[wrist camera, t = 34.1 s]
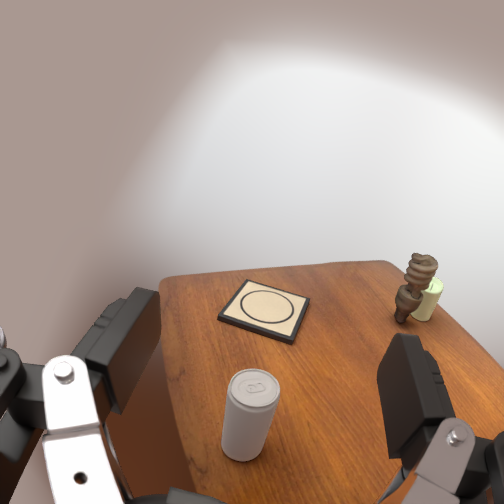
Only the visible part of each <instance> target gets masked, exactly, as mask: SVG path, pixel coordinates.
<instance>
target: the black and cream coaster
mask: <svg viewBox="0 0 504 504" xmlns="http://www.w3.org/2000/svg"><path fill="white" fill-rule="evenodd" d="M309 301H310V298H307V297H304V296H300V295H297V294H294V293H290V292H287V291H284V290H280V289H277V288H274V287H270V286H267V285H264V284H261V283H257V282H254V281H251V280H248V279H246V280H245V282H244V283H243V284H242V285H241V287H240V288H239V289H238V290H237V292H236V293H235V294H234V295H233V297H232V298H231V299H230V301H229V302H228V303H227V304H226V306H225V307H224V308H223V309H222V311H221V312H220V313H219V314H218V319H217V320H220V321H223V322H225V323H228V324H231V325H234V326H237V327H240V328H243V329H245V330H248V331H251V332H254V333H257V334H260V335H263V336H266V337H269V338H272V339H275V340H278V341H281V342H284V343H288V344H291V345H292V343H293V341H294V338H295V336H296V334H297V331H298V329H299V326H300V324H301V321H302V319H303V316H304V314H305V311H306V309H307V306H308V304H309Z"/></svg>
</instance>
